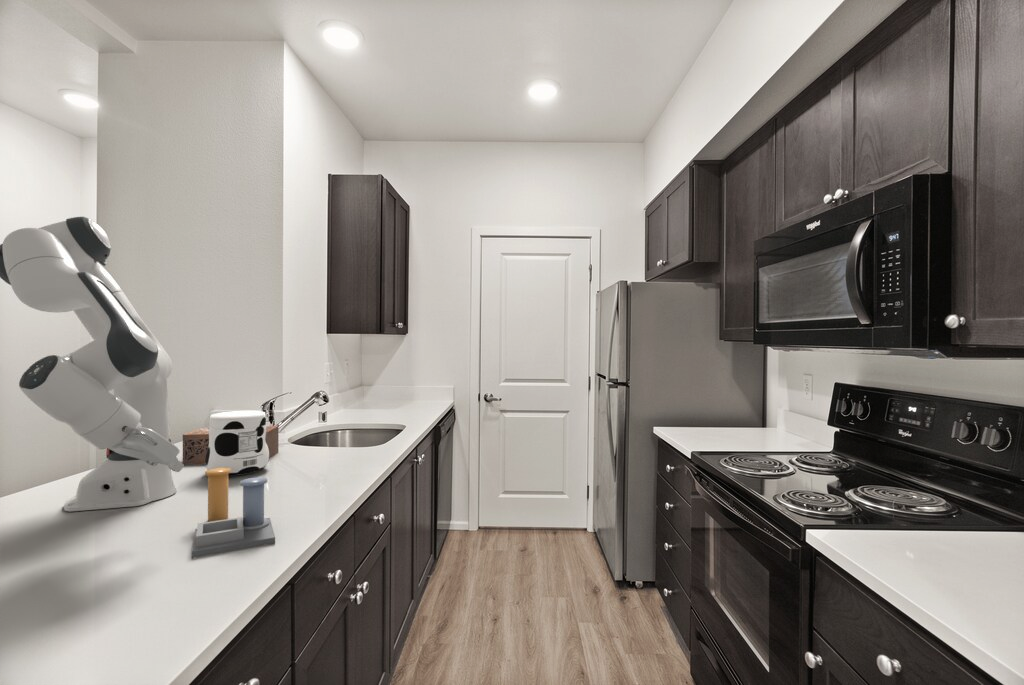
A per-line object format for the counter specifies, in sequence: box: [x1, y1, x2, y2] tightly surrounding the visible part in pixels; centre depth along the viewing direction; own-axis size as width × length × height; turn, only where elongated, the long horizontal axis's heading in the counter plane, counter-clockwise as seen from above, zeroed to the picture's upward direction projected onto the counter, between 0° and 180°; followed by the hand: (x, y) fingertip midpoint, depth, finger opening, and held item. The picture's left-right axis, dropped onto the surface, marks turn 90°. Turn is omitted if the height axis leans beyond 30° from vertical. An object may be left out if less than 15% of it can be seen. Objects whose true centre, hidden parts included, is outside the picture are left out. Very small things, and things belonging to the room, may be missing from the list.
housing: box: [191, 476, 276, 559], centre depth 103 cm, size 14×13×11 cm
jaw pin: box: [204, 468, 231, 522], centre depth 114 cm, size 5×5×11 cm
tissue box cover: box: [182, 425, 280, 465], centre depth 175 cm, size 26×14×10 cm, turn 100°
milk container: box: [204, 410, 270, 477], centre depth 156 cm, size 17×17×18 cm
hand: (167, 465), depth 105 cm, fingers open, 8 cm apart
